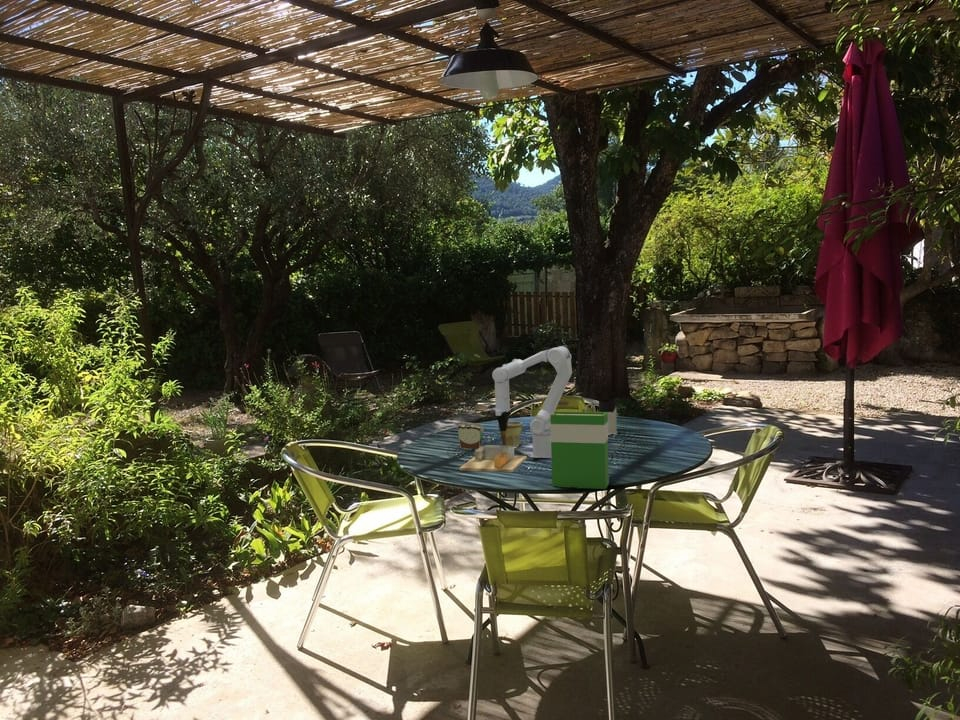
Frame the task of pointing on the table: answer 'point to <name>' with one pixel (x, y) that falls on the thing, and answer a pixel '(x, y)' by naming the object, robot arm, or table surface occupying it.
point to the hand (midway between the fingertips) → (503, 430)
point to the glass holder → (611, 409)
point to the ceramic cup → (511, 434)
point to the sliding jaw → (503, 457)
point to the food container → (470, 435)
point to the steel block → (492, 451)
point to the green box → (580, 449)
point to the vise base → (491, 463)
